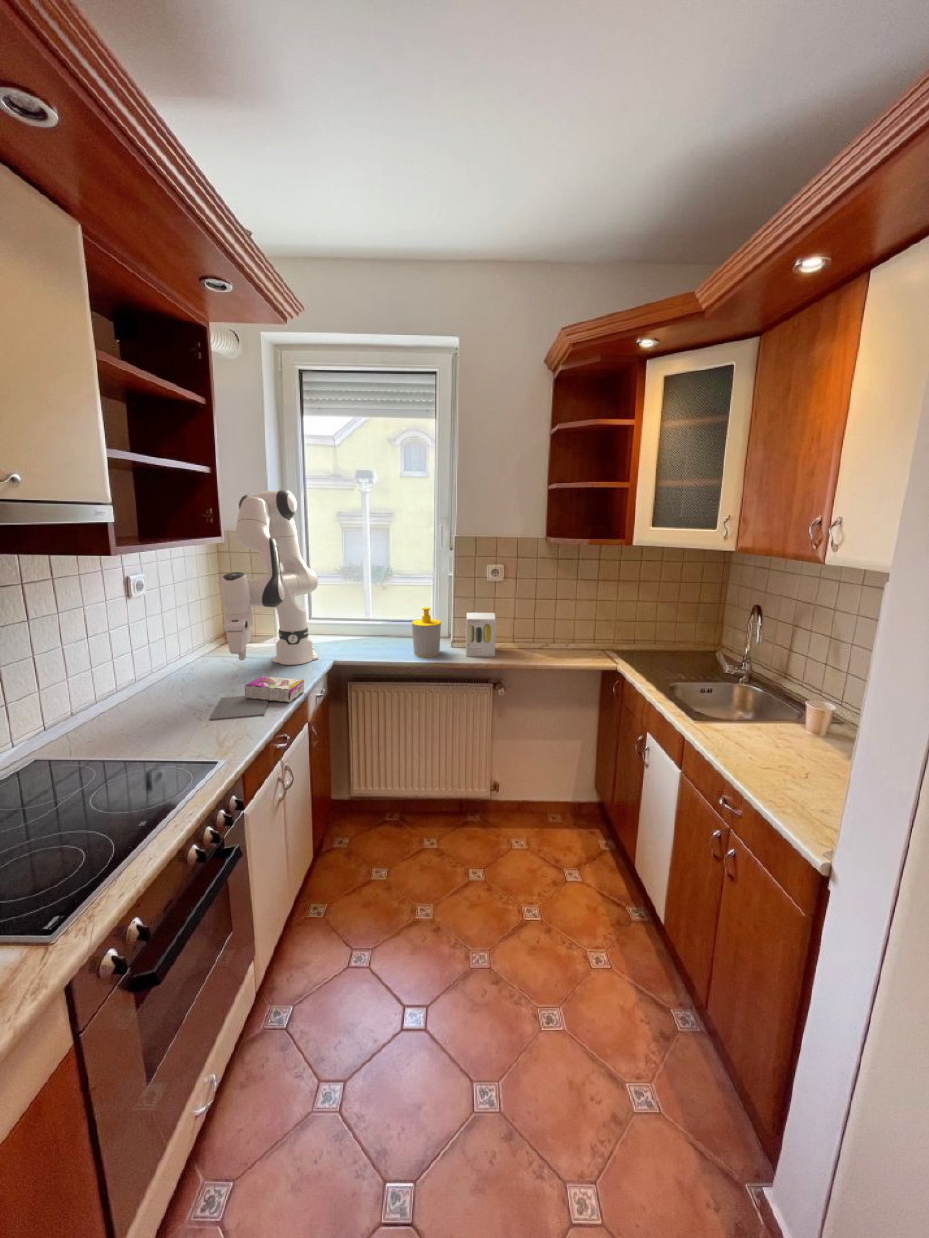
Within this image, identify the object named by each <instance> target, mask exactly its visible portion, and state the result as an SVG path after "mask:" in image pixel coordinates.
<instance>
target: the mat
mask: <svg viewBox="0 0 929 1238" xmlns="http://www.w3.org/2000/svg"><path fill="white" fill-rule="evenodd" d="M269 701H270V700H261V699H251V698H245V695H239V696H238V695H237V696H227V697H226V696H225V697H220V699H219V701H218V703H217V705H216V707H215V708H214V711H213V712H212V714H211V716H210V717H209V721H219V720H227V719H236V718H247V717H260V716H265V713H266V711H267V708H268V704H269Z"/></svg>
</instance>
